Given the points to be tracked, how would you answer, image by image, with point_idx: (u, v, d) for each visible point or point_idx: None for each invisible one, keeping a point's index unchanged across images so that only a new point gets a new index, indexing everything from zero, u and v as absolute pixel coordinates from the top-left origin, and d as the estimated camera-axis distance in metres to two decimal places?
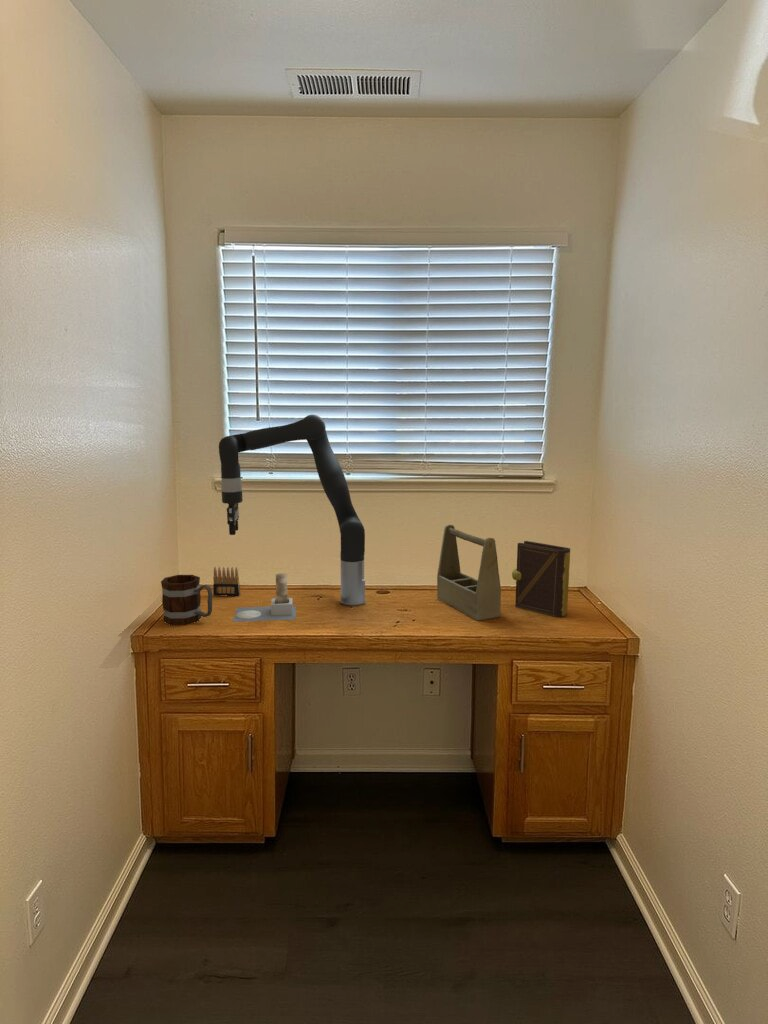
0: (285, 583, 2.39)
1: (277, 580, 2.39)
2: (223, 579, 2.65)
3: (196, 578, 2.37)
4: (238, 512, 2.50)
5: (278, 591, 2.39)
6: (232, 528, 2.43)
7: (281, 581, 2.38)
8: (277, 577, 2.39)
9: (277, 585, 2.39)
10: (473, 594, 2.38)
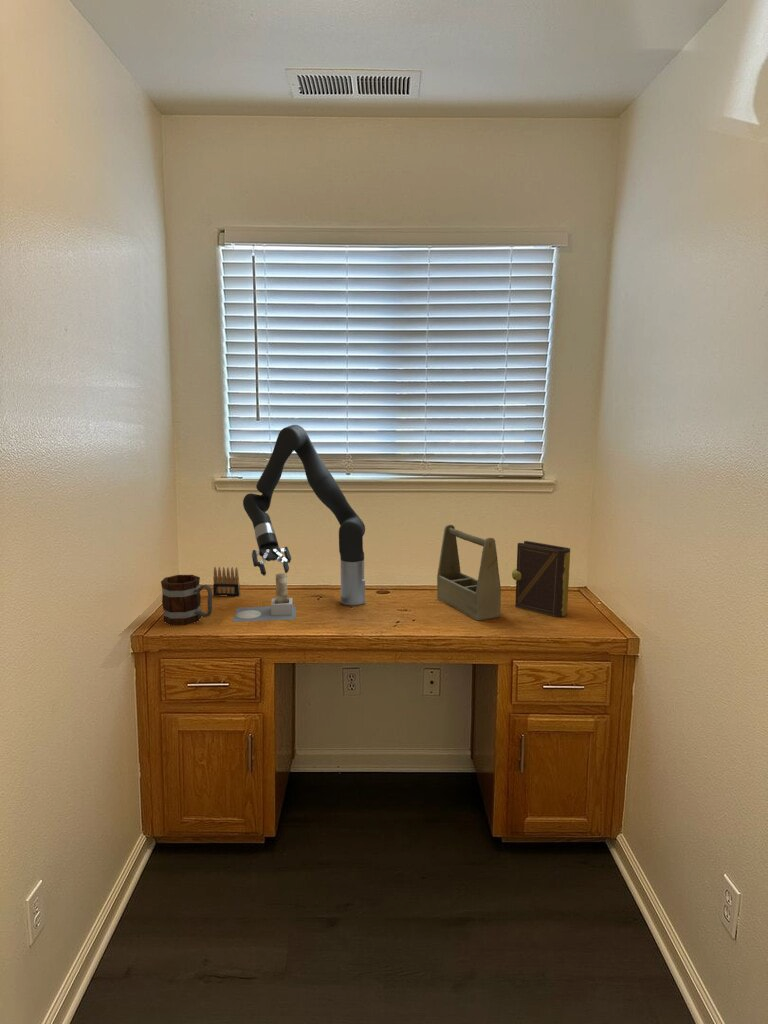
0: (285, 583, 2.39)
1: (277, 580, 2.39)
2: (223, 579, 2.65)
3: (196, 578, 2.37)
4: (279, 553, 2.49)
5: (278, 591, 2.39)
6: (260, 568, 2.45)
7: (281, 581, 2.38)
8: (277, 577, 2.39)
9: (277, 585, 2.39)
10: (473, 594, 2.38)
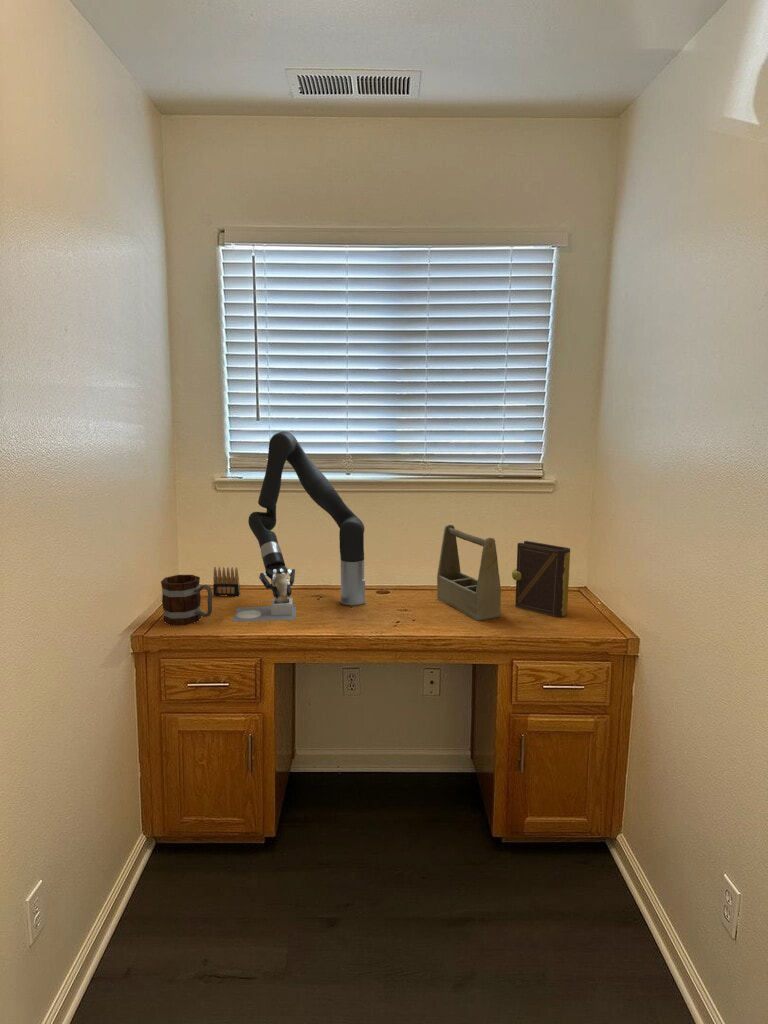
0: (285, 583, 2.39)
1: (277, 580, 2.39)
2: (223, 579, 2.65)
3: (196, 578, 2.37)
4: None
5: (278, 591, 2.39)
6: (273, 591, 2.39)
7: (281, 581, 2.38)
8: (277, 577, 2.39)
9: (277, 585, 2.39)
10: (473, 594, 2.38)
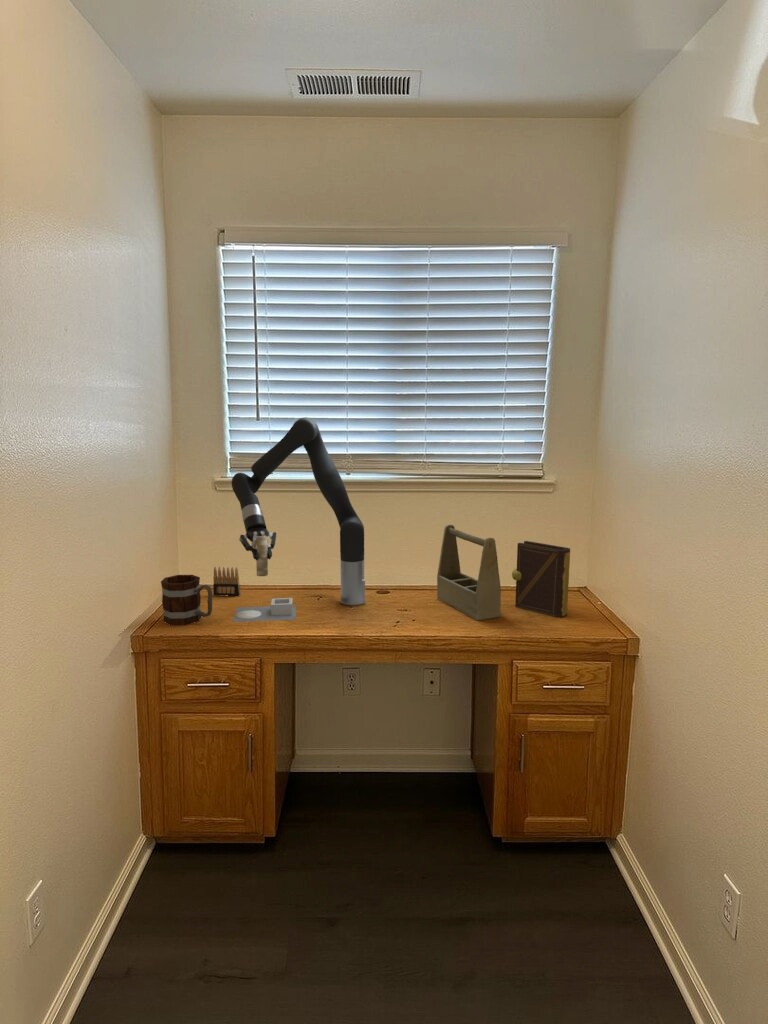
0: (265, 545, 2.35)
1: (257, 542, 2.35)
2: (223, 579, 2.65)
3: (196, 578, 2.37)
4: None
5: (258, 553, 2.35)
6: (253, 553, 2.35)
7: (262, 543, 2.34)
8: (257, 539, 2.34)
9: (257, 547, 2.35)
10: (473, 594, 2.38)
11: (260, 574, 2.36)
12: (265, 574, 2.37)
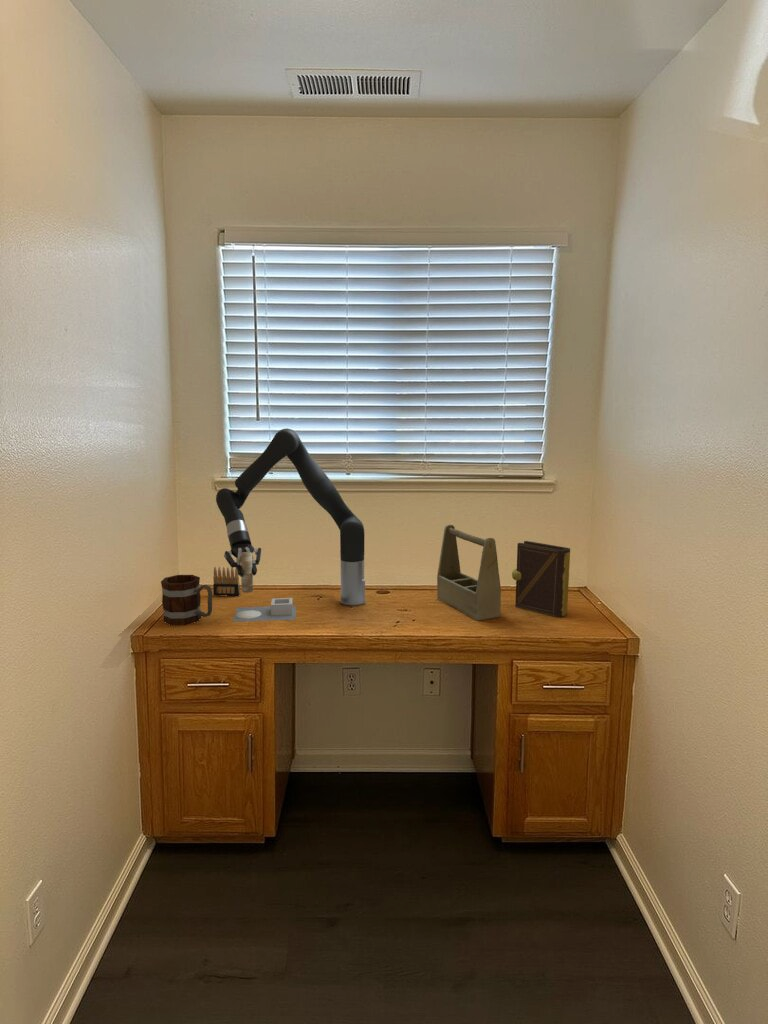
0: (250, 561, 2.34)
1: (242, 558, 2.34)
2: (223, 579, 2.65)
3: (196, 578, 2.37)
4: None
5: (243, 570, 2.34)
6: (237, 569, 2.34)
7: (246, 559, 2.33)
8: (242, 555, 2.34)
9: (242, 563, 2.34)
10: (473, 594, 2.38)
11: (245, 590, 2.36)
12: (250, 590, 2.36)
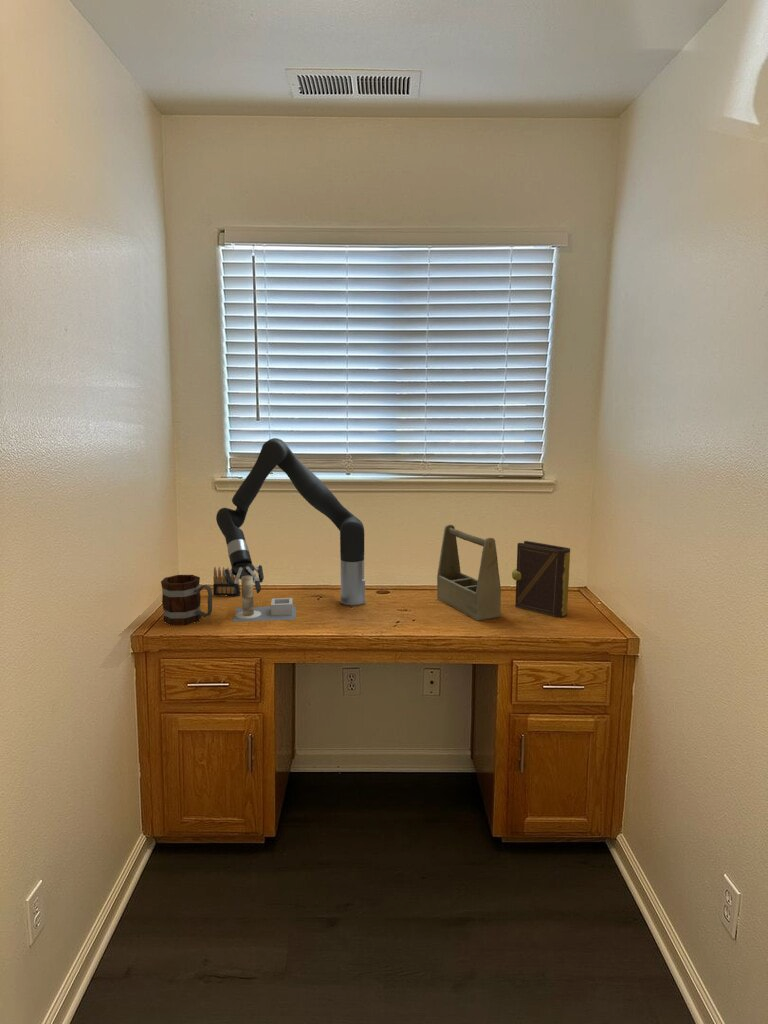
0: (250, 585, 2.36)
1: (243, 582, 2.35)
2: (223, 579, 2.65)
3: (196, 578, 2.37)
4: (252, 572, 2.40)
5: (244, 593, 2.36)
6: (235, 588, 2.35)
7: (247, 583, 2.35)
8: (243, 579, 2.35)
9: (243, 587, 2.36)
10: (473, 594, 2.38)
11: (246, 614, 2.37)
12: (251, 614, 2.38)
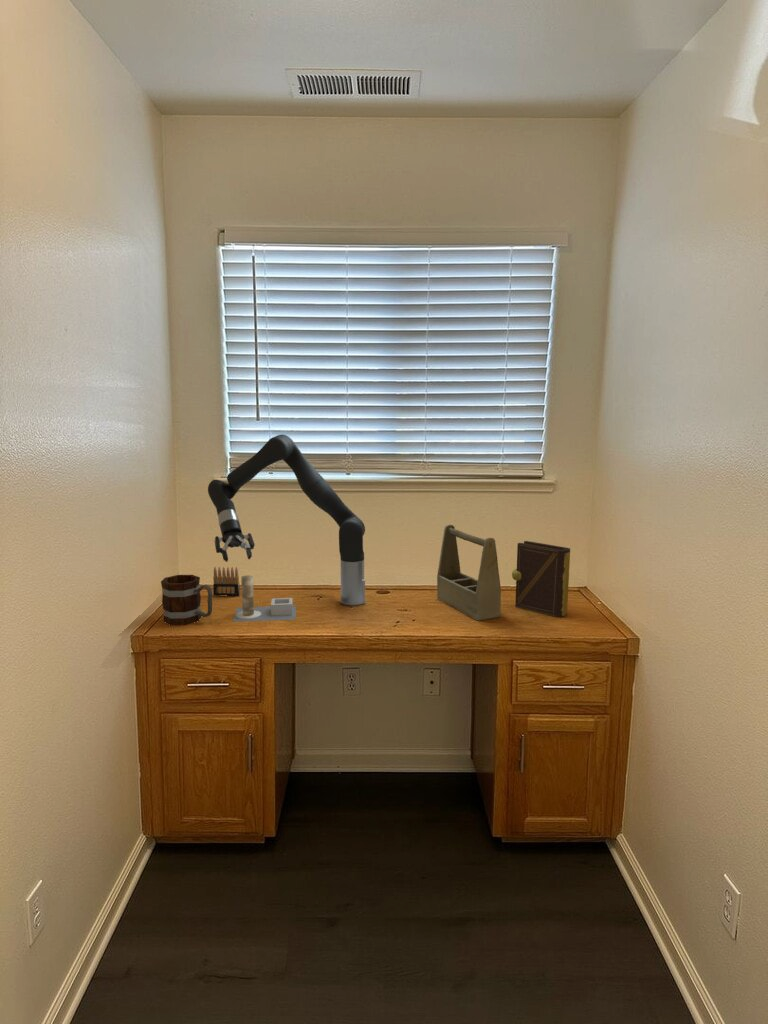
0: (250, 585, 2.36)
1: (243, 582, 2.35)
2: (223, 579, 2.65)
3: (196, 578, 2.37)
4: (242, 540, 2.50)
5: (244, 593, 2.36)
6: (223, 554, 2.45)
7: (247, 583, 2.35)
8: (243, 579, 2.35)
9: (243, 587, 2.36)
10: (473, 594, 2.38)
11: (246, 614, 2.37)
12: (251, 614, 2.38)
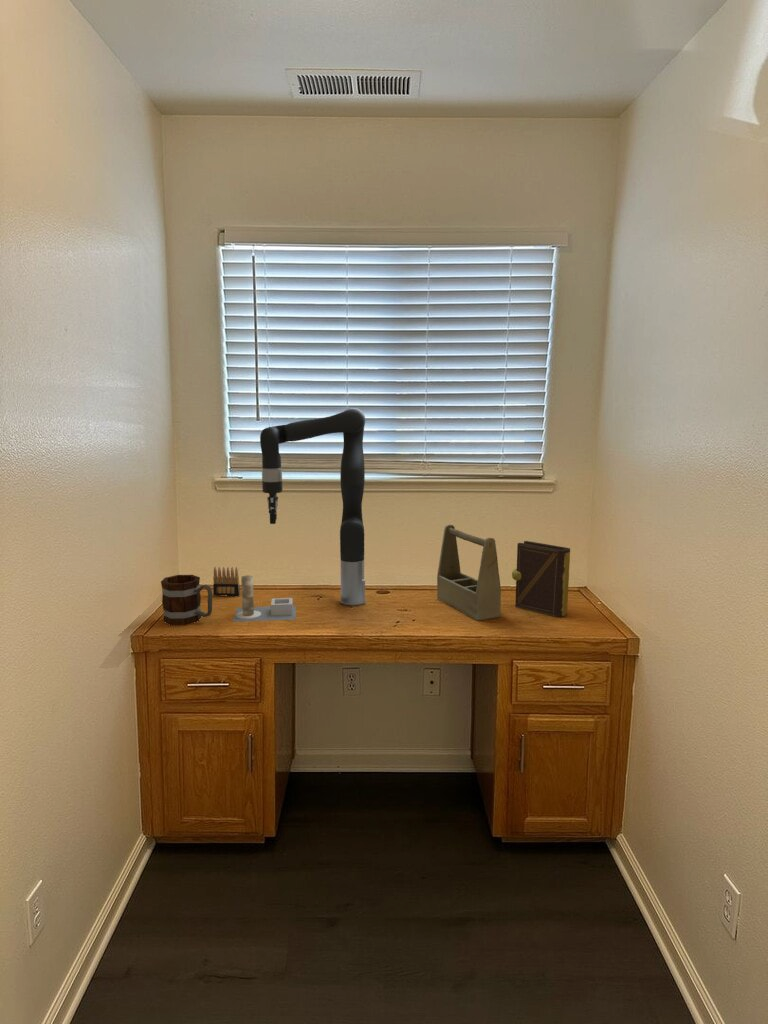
0: (250, 585, 2.36)
1: (243, 582, 2.35)
2: (223, 579, 2.65)
3: (196, 578, 2.37)
4: (277, 502, 2.55)
5: (244, 593, 2.36)
6: (273, 517, 2.48)
7: (247, 583, 2.35)
8: (242, 579, 2.35)
9: (243, 587, 2.36)
10: (473, 594, 2.38)
11: (246, 614, 2.37)
12: (251, 614, 2.38)
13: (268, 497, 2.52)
